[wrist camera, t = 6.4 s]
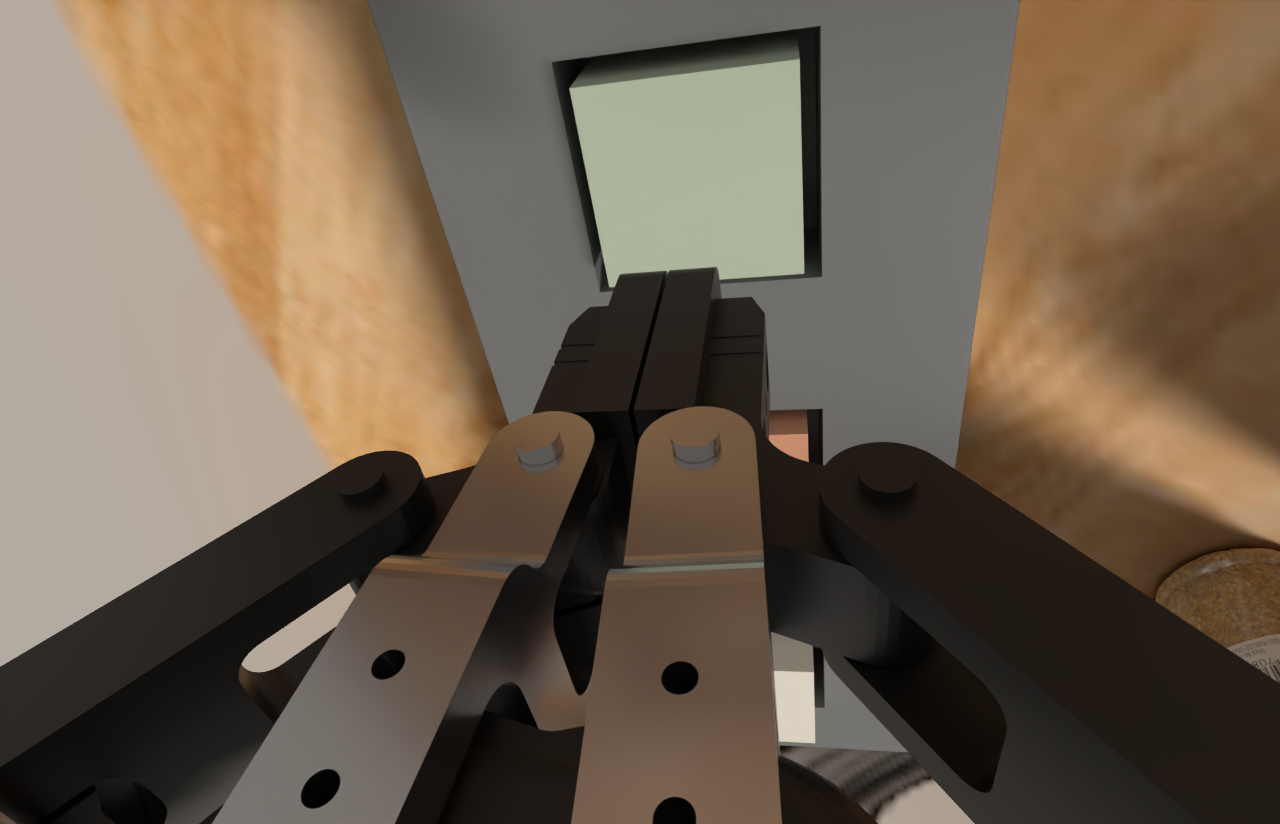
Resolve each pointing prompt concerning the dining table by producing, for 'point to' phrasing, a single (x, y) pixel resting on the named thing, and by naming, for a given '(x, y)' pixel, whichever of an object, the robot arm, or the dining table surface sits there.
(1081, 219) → the dining table surface
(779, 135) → the button sage
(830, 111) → the button panel
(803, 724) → the button cream
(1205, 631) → the sprinkles bottle
